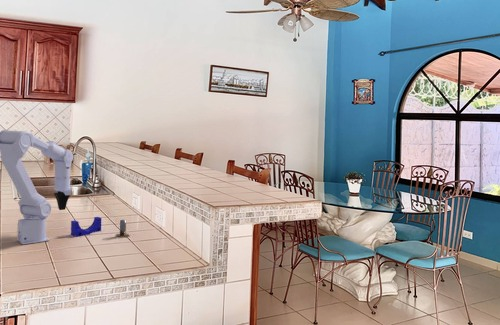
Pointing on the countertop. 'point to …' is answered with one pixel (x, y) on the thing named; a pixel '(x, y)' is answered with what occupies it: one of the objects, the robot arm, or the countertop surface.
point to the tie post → (122, 229)
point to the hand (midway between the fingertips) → (62, 209)
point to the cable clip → (81, 232)
